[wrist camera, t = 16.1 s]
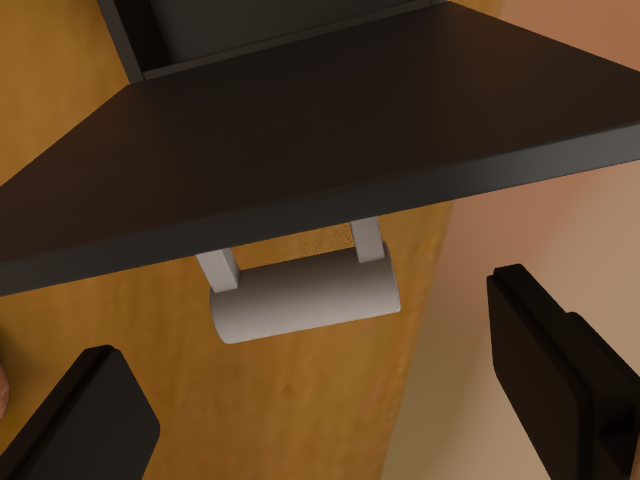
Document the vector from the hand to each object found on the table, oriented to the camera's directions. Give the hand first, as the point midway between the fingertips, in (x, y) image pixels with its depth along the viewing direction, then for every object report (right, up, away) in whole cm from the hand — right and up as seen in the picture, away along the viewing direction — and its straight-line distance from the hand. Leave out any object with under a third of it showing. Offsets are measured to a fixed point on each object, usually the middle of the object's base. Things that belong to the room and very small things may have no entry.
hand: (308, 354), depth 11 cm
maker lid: (-1, +8, +3) cm, 9 cm away
